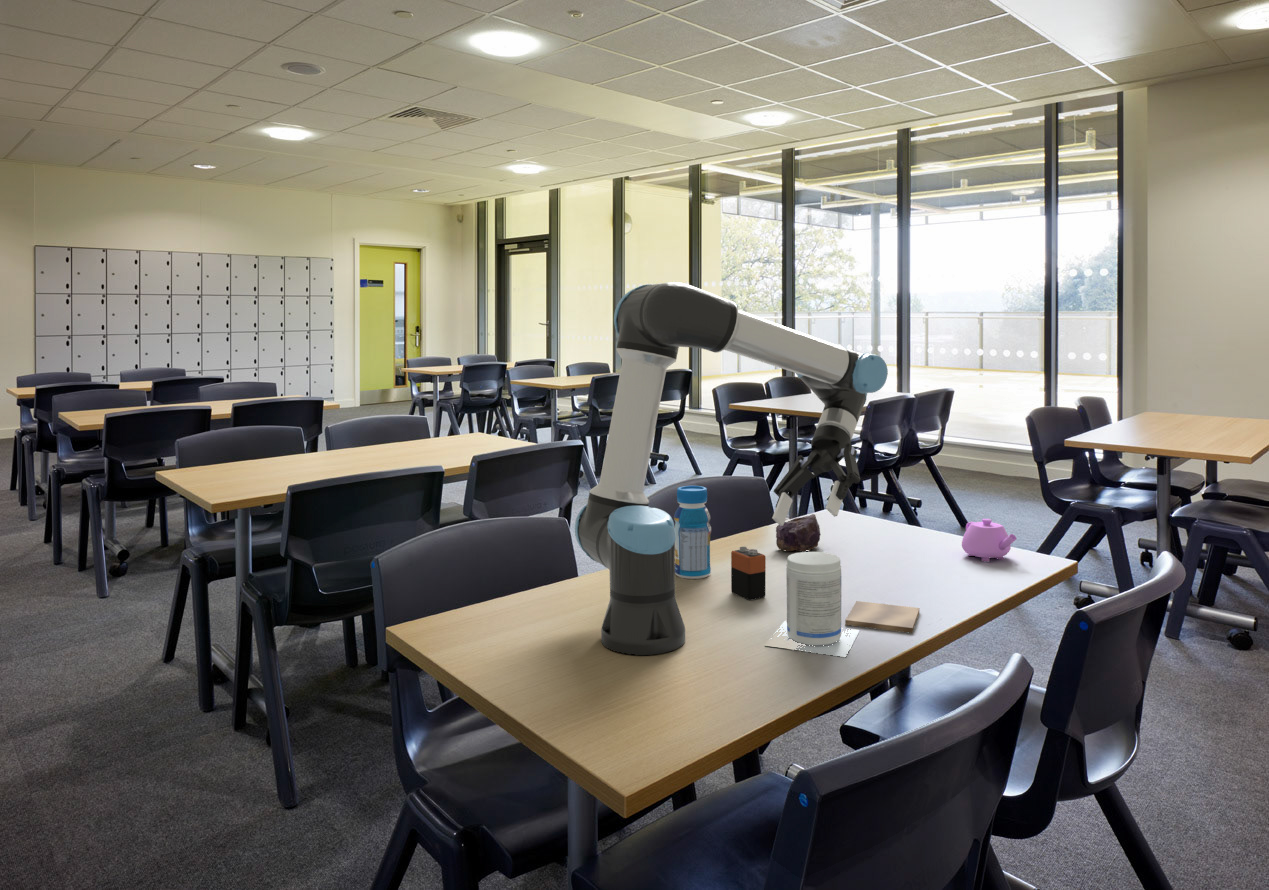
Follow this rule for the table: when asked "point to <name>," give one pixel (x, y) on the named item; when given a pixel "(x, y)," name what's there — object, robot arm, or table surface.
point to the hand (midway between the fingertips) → (803, 517)
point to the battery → (748, 573)
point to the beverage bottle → (692, 533)
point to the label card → (834, 649)
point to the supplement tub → (814, 598)
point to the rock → (798, 534)
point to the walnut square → (883, 616)
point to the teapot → (986, 540)
